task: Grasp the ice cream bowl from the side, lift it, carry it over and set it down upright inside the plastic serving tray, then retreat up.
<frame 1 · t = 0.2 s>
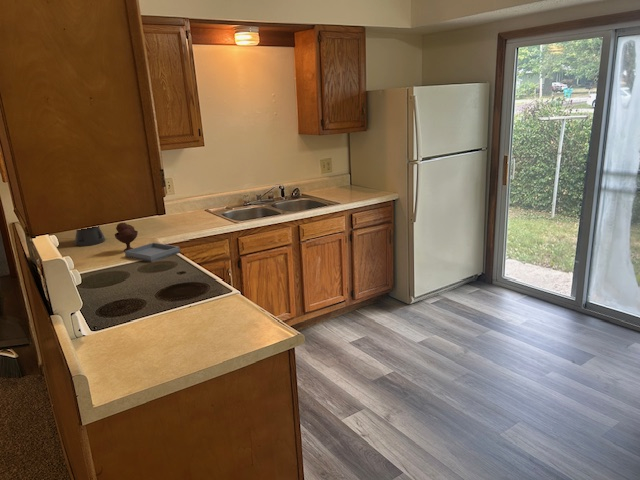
hand: (124, 201, 228), 28 cm above the countertop, fingers open, 13 cm apart
serving tray: (153, 254, 237), on the countertop
ice cream bowl: (129, 250, 247), on the countertop
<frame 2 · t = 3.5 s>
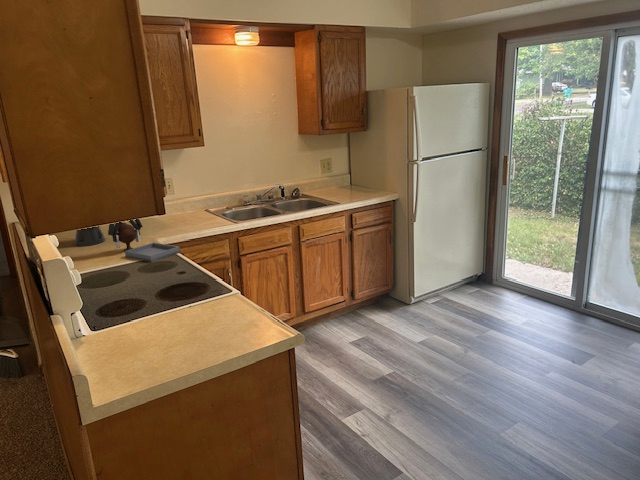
hand: (128, 244, 246), 3 cm above the countertop, fingers closed on ice cream bowl, 11 cm apart
ice cream bowl: (129, 250, 247), on the countertop, touching gripper
when the fingers open (5 cm above the countertop, at t = 10.3 s): ice cream bowl drops 1 cm, resting on serving tray.
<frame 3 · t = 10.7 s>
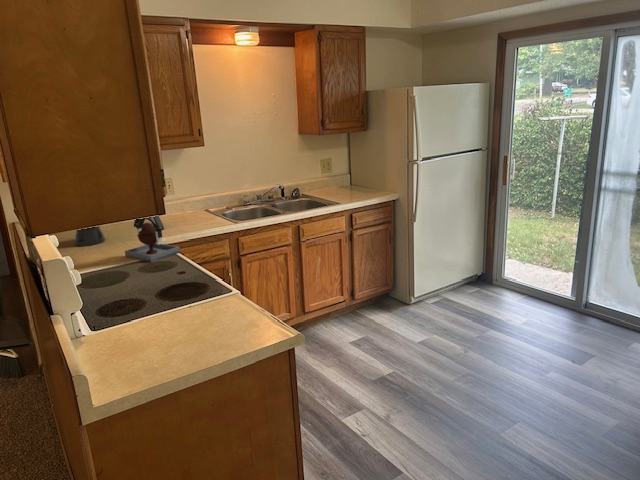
hand: (151, 242, 235), 6 cm above the countertop, fingers open, 13 cm apart
ice cream bowl: (152, 253, 237), point 1 cm above the countertop, touching serving tray
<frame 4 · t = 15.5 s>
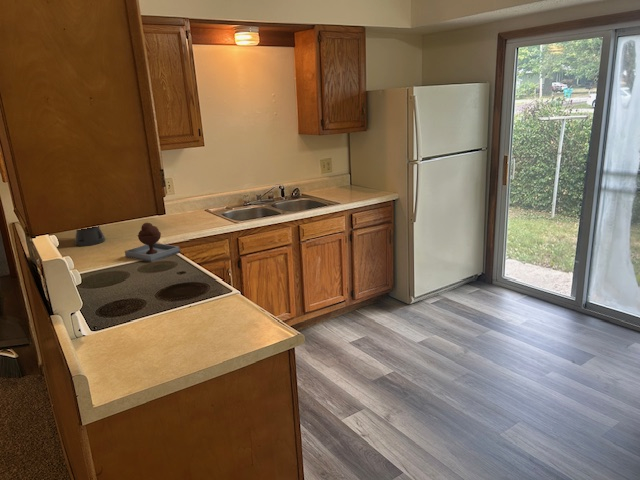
hand: (116, 181, 245), 35 cm above the countertop, fingers open, 13 cm apart
nothing on the countertop moved.
at the end: ice cream bowl inside the target area on the serving tray (0.4 cm from its centre), point 0.8 cm above the serving tray's base; ice cream bowl tilted 0°; the gripper is holding nothing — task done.
